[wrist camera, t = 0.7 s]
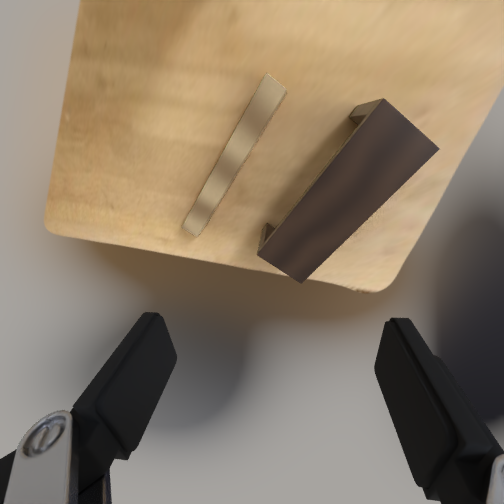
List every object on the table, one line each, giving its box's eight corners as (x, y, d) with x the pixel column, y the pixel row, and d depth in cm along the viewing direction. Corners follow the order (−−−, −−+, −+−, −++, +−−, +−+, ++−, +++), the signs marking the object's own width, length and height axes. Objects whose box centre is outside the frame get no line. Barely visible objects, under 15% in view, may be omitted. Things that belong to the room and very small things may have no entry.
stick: (204, 228, 41) (197, 237, 38) (189, 218, 41) (181, 227, 37) (287, 93, 30) (287, 89, 27) (268, 78, 30) (266, 71, 26)
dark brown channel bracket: (261, 229, 40) (256, 254, 32) (357, 105, 30) (383, 97, 22) (298, 254, 42) (301, 283, 34) (401, 142, 31) (440, 148, 24)
